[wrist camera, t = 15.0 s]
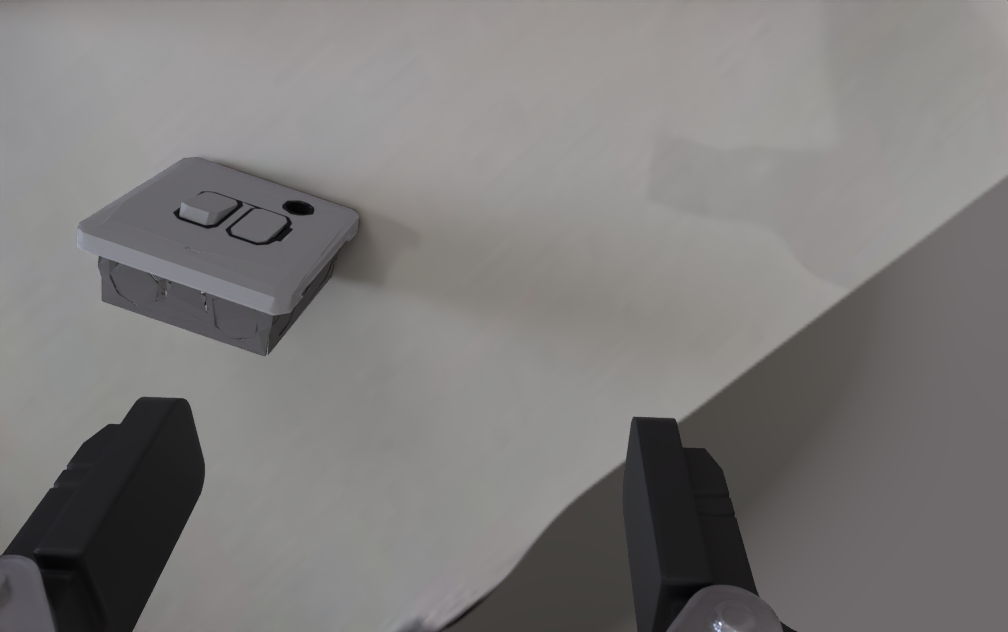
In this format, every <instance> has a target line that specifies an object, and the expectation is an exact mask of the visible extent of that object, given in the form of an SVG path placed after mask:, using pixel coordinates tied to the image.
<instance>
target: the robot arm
mask: <svg viewBox="0 0 1008 632" xmlns="http://www.w3.org/2000/svg"><path fill="white" fill-rule="evenodd" d="M204 477H205V464H204V458H203V454H202V450H201V446H200V442H199V438H198V435H197V431H196V427H195V423H194V419H193V415H192V411H191V407H190V405H189V403H188V401H187V400H186V399H184V398H162V397H141V398H139V399H138V400H137V401H136V402H135V404H134V405H133V406H132V408H131V409H130V411H129V412H128V414H127V415H126V417H125V418H124V420H123V421H122V422H121V424H108V425H107V426H106V427H104V428H103V429H102V430H100V431H99V432H97V433H96V434H95V435H93V436H92V437H91V438H89V439H88V440H87V441H85V442H84V443H83V444H82V446H81V447H80V448H79V450H78V451H77V452H76V454H75V455H74V457H73V458H72V459H71V461H70V462H69V463H68V465H67V470H63V472H62V473H61V474H60V476H59V477H58V479H57V480H56V481H55V483H54V488H50V490H49V491H48V492H47V494H46V495H45V497H44V498H43V499H42V501H41V502H40V503H39V505H38V506H37V508H36V509H35V510H34V512H33V513H32V514H31V516H30V517H29V519H28V520H27V521H26V523H25V524H24V525H23V527H22V528H21V530H20V531H19V532H18V534H17V535H16V537H15V538H14V539H13V541H12V542H11V543H10V545H9V546H8V548H7V549H6V550H5V552H4V553H3V554H2V556H0V632H132V631H133V629H134V627H135V625H136V623H137V621H138V619H139V617H140V615H141V613H142V611H143V609H144V607H145V605H146V603H147V601H148V599H149V597H150V595H151V593H152V591H153V589H154V587H155V585H156V583H157V581H158V579H159V577H160V575H161V573H162V571H163V569H164V567H165V565H166V563H167V561H168V559H169V557H170V555H171V553H172V551H173V549H174V547H175V545H176V543H177V541H178V539H179V537H180V535H181V533H182V531H183V529H184V527H185V525H186V523H187V521H188V518H189V516H190V514H191V512H192V510H193V508H194V506H195V504H196V502H197V500H198V498H199V496H200V494H201V491H202V488H203V483H204ZM734 514H735V512H734V509H733V505H732V502H731V498H729V491H728V487H727V484H726V480H725V477H724V474H723V470H722V469H721V467H720V466H719V465H718V464H717V463H716V461H715V460H714V459H713V458H712V457H711V456H710V454H709V453H708V452H707V451H706V450H705V449H703V448H683V447H682V443H681V439H680V434H679V430H678V425H677V422H676V420H675V419H674V418H653V417H633V419H632V422H631V428H630V435H629V442H628V450H627V457H626V464H625V471H624V479H623V515H624V524H625V532H626V541H627V549H628V557H629V565H630V573H631V581H632V590H633V597H634V606H635V614H636V622H637V630H638V632H797V631H794V630H793V629H791V628H789V627H788V626H786V625H785V624H783V623H782V622H780V621H779V619H778V617H777V615H776V614H775V612H774V611H773V609H771V607H770V606H769V605H768V604H767V603H766V602H765V601H764V600H762V599H761V598H760V597H759V595H758V592H757V590H756V586H755V583H754V580H753V576H752V572H751V569H750V565H749V562H748V559H747V555H746V551H745V548H744V544H743V540H742V537H741V533H740V530H739V526H738V523H737V519H736V518H735V516H734Z"/></svg>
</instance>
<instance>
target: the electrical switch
mask: <svg viewBox="0 0 1008 632" xmlns="http://www.w3.org/2000/svg"><path fill="white" fill-rule="evenodd" d="M358 223H359V216H358V214H357V213H356V212H355V211H354V210H353V209H350V208H347V207H344V206H341V205H338V204H335V203H332V202H329V201H326V200H323V199H320V198H317V197H314V196H311V195H308V194H305V193H302V192H299V191H296V190H294V189H291V188H288V187H285V186H282V185H279V184H276V183H273V182H270V181H267V180H264V179H261V178H258V177H255V176H252V175H249V174H246V173H243V172H240V171H237V170H234V169H231V168H228V167H225V166H222V165H219V164H216V163H213V162H210V161H207V160H204V159H201V158H197V157H191V158H183V159H181V160H180V161H178V162H177V163H175V164H174V165H172V166H170V167H169V168H167V169H165V170H164V171H162V172H161V173H159V174H157V175H156V176H154V177H153V178H151V179H149V180H148V181H146V182H145V183H143V184H141V185H140V186H138V187H136V188H135V189H133V190H132V191H130V192H128V193H127V194H125V195H124V196H122V197H120V198H119V199H117V200H115V201H114V202H112V203H111V204H109V205H107V206H106V207H104V208H103V209H101V210H99V211H98V212H96V213H94V214H93V215H91V216H90V217H88V218H86V219H85V220H83V221H82V222H80V223H79V225H78V234H77V248H78V249H81V250H84V251H86V252H89V253H92V254H95V255H98V256H99V260H98V268H99V271H100V274H101V276H102V301H103V302H106V303H109V304H112V305H115V306H118V307H121V308H124V309H126V310H129V311H132V312H135V313H138V314H141V315H144V316H147V317H150V318H153V319H156V320H159V321H162V322H165V323H168V324H171V325H174V326H177V327H179V328H182V329H185V330H188V331H191V332H194V333H197V334H200V335H203V336H206V337H209V338H212V339H215V340H218V341H221V342H224V343H227V344H230V345H232V346H235V347H238V348H241V349H244V350H247V351H250V352H253V353H256V354H259V355H262V356H266V353H267V346H268V355H269V353H270V352H271V351H272V350H273V348H274V347H275V346H276V345H277V343H278V342H279V341H280V340H281V338H282V337H283V336H284V335H285V333H286V332H287V331H288V330H289V328H290V327H291V326H292V325H293V324H294V322H295V321H296V320H297V319H298V317H299V316H300V315H301V314H302V312H303V311H304V310H305V309H306V307H307V306H308V305H309V304H310V302H311V301H312V300H313V299H314V297H315V296H316V295H317V294H318V293H319V291H320V290H321V289H322V288H323V286H324V285H325V284H326V283H327V281H328V280H329V279H330V278H331V276H332V270H333V264H334V259H335V260H336V258H337V253H338V250H339V249H340V247H341V246H342V245H343V244H344V243H345V242H346V241H347V240H348V241H350V240H351V239H352V238H353V237H354V236H355V235H356V234H357V233H358ZM150 273H151V274H152V275H153V276H154V278H155V279H156V280H157V281H156V280H155V279H154V278H153V277H152V275H151V274H150ZM313 279H314V280H313ZM167 281H170V282H167ZM116 288H117V289H116ZM165 290H166V291H167V295H166V298H165ZM201 291H203V292H205V293H204V294H201ZM157 297H158V300H157ZM214 299H215V300H214ZM206 300H207V311H206V309H205V305H206ZM135 304H136V305H137V306H136V305H135ZM241 339H244V340H243V341H242V340H241ZM268 339H269V344H268Z"/></svg>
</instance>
